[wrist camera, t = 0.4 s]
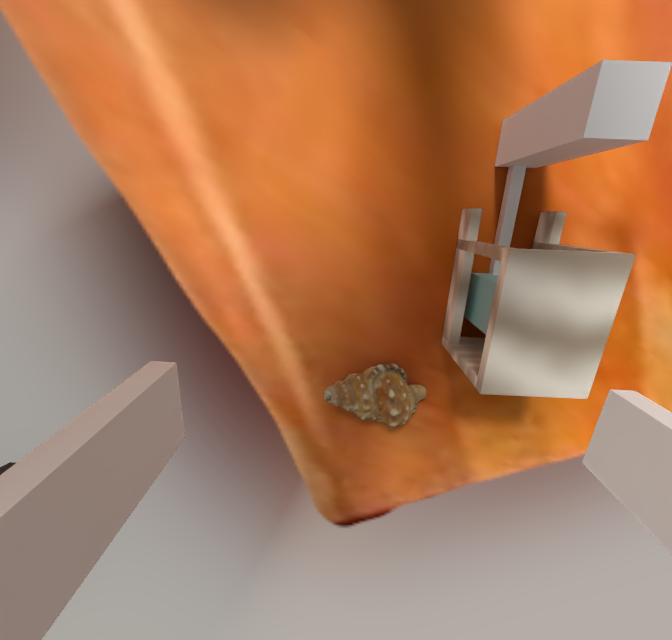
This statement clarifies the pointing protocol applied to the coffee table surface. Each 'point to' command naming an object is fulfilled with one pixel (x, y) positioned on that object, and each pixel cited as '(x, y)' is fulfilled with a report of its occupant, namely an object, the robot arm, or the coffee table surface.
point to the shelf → (536, 312)
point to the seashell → (377, 394)
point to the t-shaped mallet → (568, 141)
